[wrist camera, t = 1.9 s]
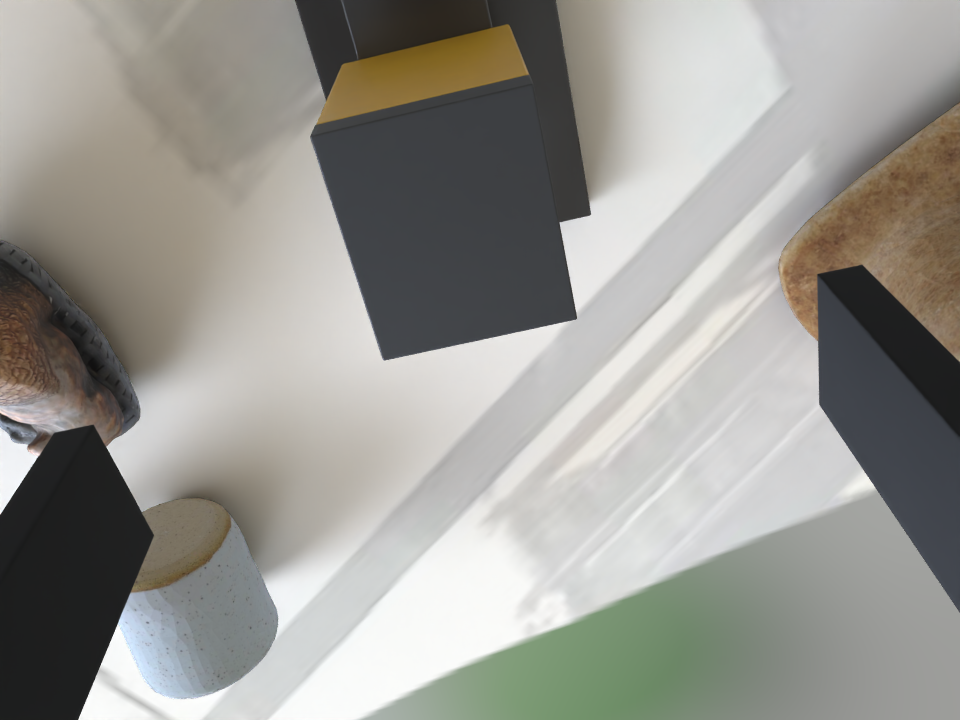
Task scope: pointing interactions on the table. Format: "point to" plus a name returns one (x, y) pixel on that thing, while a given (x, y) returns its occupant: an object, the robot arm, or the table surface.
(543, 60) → the stand
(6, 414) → the brown animal-shaped figure
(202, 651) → the ceramic mug
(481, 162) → the block
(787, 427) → the table surface
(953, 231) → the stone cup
